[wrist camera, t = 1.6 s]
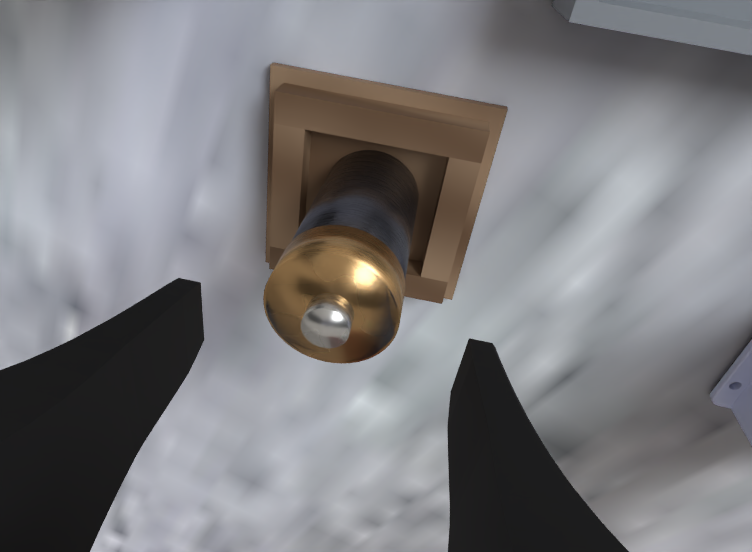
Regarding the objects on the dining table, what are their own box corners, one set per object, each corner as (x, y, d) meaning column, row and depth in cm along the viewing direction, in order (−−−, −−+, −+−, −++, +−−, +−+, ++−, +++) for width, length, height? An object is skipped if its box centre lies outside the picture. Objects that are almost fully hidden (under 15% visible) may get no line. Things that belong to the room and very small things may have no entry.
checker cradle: (452, 294, 24) (451, 315, 23) (268, 257, 25) (257, 276, 23) (506, 106, 19) (509, 120, 18) (273, 62, 20) (259, 72, 18)
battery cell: (410, 245, 23) (385, 393, 16) (320, 227, 23) (253, 365, 16) (428, 159, 20) (409, 286, 13) (328, 139, 21) (254, 255, 13)
